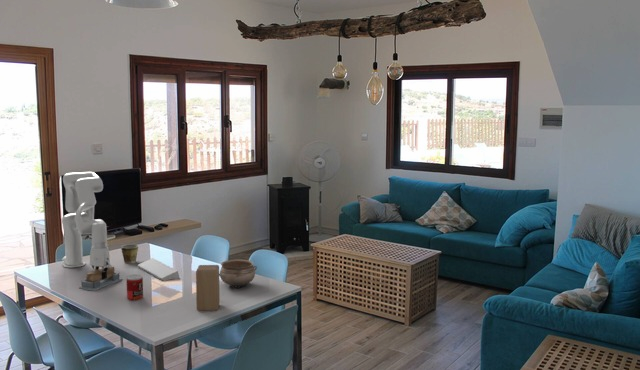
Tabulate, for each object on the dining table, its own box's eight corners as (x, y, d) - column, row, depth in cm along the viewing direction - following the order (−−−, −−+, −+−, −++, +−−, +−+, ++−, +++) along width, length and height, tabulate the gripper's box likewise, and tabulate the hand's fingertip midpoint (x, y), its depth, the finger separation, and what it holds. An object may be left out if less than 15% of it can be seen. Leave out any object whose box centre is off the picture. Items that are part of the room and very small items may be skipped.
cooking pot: (247, 277, 319) (247, 256, 317) (266, 285, 305) (266, 263, 303) (208, 285, 303) (208, 263, 301) (226, 294, 288) (226, 271, 287)
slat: (87, 282, 296) (86, 273, 296) (108, 274, 311) (108, 265, 310) (93, 283, 295) (92, 274, 294) (114, 275, 310) (114, 266, 309)
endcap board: (79, 288, 295) (78, 281, 295) (107, 277, 315) (107, 270, 314) (93, 290, 292) (93, 283, 291) (122, 279, 311) (121, 273, 311)
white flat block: (163, 286, 311) (179, 278, 316) (161, 278, 309) (177, 270, 315) (139, 272, 337) (154, 265, 342) (137, 264, 335) (152, 258, 341)
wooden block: (199, 304, 274) (198, 264, 271) (219, 303, 274) (219, 264, 272) (196, 311, 264) (195, 270, 261) (217, 311, 265) (217, 270, 262)
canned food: (134, 301, 276) (133, 280, 275) (123, 298, 280) (122, 277, 279) (146, 297, 282) (146, 276, 281) (135, 294, 287) (135, 273, 285)
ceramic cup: (141, 262, 347) (141, 246, 346) (126, 265, 340) (126, 249, 339) (131, 258, 356) (130, 242, 355) (116, 261, 349) (115, 245, 348)
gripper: (82, 244, 300) (83, 278, 302) (106, 248, 294) (108, 281, 296) (92, 242, 307) (94, 274, 309) (117, 245, 301) (118, 278, 303)
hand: (100, 277), depth 303 cm, fingers closed on slat, 4 cm apart
